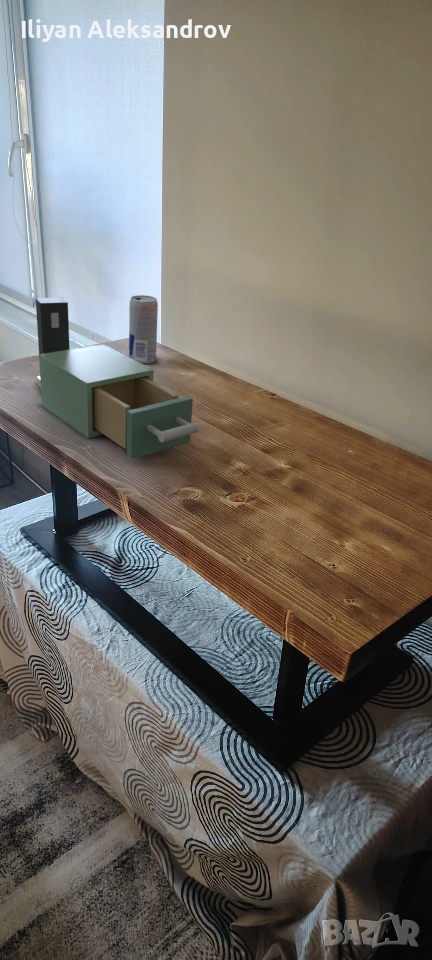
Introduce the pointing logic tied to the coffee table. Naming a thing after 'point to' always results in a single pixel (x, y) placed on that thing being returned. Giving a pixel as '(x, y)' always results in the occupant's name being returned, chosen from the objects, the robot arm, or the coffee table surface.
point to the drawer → (142, 416)
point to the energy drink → (143, 328)
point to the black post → (52, 326)
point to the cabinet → (83, 381)
